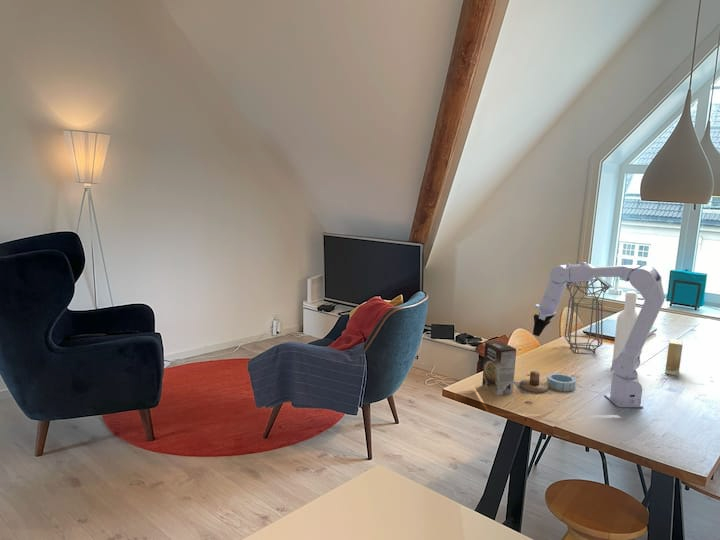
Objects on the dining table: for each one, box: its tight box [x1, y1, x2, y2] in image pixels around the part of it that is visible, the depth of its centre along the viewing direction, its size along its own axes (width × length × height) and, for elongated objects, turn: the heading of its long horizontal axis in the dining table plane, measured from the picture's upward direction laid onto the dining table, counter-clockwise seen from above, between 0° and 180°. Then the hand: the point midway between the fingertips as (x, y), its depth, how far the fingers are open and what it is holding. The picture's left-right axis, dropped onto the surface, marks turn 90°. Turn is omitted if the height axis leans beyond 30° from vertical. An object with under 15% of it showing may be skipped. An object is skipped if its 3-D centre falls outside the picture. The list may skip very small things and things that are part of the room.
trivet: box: [513, 381, 553, 395], centre depth 175 cm, size 10×10×1 cm
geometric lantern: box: [563, 277, 612, 355], centre depth 216 cm, size 16×16×35 cm
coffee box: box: [481, 340, 517, 396], centre depth 172 cm, size 9×6×16 cm
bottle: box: [611, 290, 639, 363], centre depth 195 cm, size 8×8×30 cm
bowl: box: [546, 372, 577, 392], centre depth 177 cm, size 9×9×4 cm
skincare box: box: [664, 338, 684, 377], centre depth 194 cm, size 6×4×12 cm
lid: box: [519, 370, 549, 393], centre depth 175 cm, size 9×9×5 cm
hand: (537, 332), depth 184 cm, fingers open, 7 cm apart
